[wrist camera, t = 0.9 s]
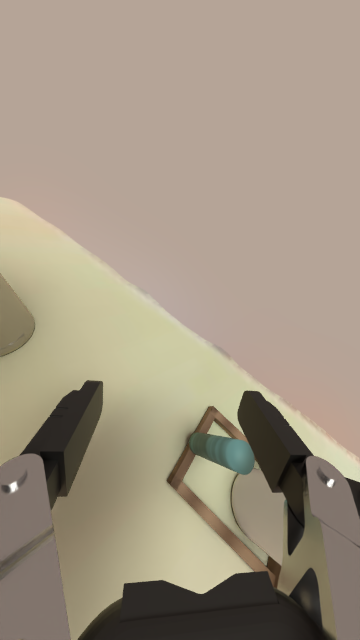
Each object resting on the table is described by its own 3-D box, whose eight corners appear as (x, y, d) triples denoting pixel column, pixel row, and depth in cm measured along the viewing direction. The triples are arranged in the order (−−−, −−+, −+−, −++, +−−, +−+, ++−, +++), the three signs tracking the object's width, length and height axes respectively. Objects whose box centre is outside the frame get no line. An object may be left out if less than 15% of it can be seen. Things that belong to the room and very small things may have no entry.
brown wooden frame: (162, 476, 24) (201, 520, 14) (205, 403, 31) (253, 397, 21) (270, 587, 23) (404, 728, 12) (291, 484, 30) (387, 520, 19)
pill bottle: (277, 537, 26) (432, 649, 13) (230, 538, 24) (360, 669, 11) (269, 468, 30) (381, 505, 17) (229, 464, 28) (322, 502, 16)
